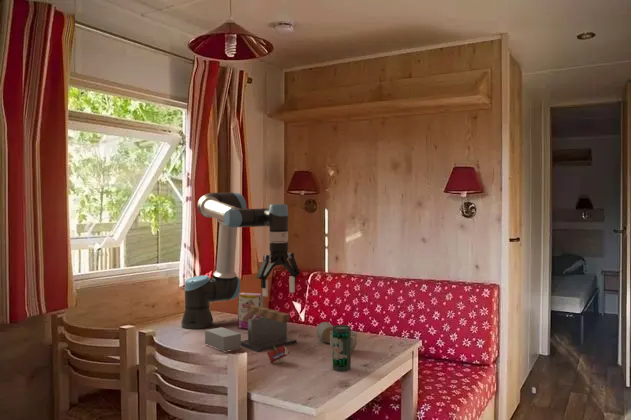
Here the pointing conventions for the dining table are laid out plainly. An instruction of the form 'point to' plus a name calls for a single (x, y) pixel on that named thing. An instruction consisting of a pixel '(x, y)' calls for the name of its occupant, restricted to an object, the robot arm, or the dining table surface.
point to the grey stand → (223, 339)
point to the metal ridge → (266, 335)
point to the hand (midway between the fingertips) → (278, 294)
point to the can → (341, 348)
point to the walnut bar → (269, 313)
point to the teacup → (353, 339)
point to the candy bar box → (243, 303)
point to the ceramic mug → (324, 331)
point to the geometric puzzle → (277, 354)
